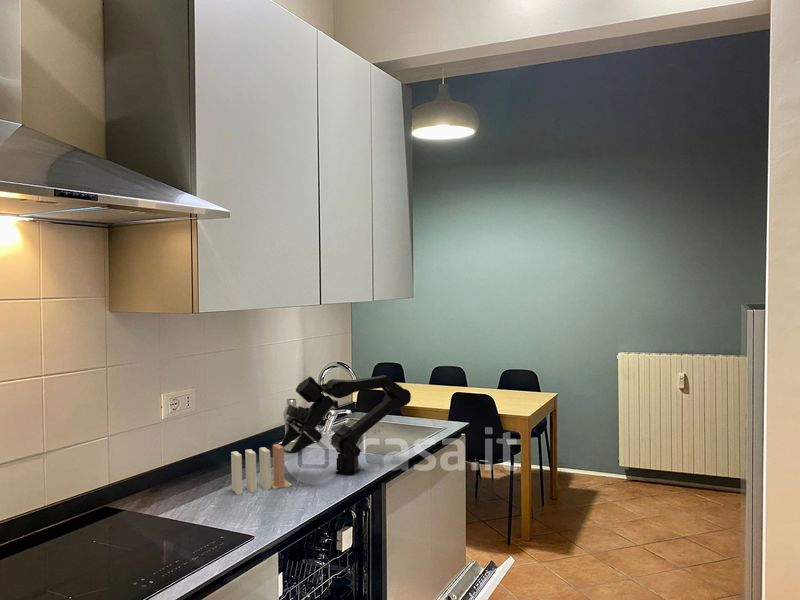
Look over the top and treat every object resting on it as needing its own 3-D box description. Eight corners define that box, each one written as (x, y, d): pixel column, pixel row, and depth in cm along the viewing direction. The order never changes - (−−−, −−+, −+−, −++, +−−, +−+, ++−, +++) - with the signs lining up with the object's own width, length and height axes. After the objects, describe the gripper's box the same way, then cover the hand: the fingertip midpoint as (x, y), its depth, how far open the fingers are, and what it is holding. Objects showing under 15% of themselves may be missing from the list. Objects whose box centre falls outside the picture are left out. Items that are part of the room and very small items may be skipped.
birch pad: (283, 479, 209) (283, 478, 209) (292, 486, 202) (292, 484, 202) (266, 482, 206) (266, 481, 206) (273, 489, 199) (273, 488, 199)
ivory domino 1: (237, 488, 200) (236, 451, 200) (242, 493, 195) (241, 455, 195) (231, 489, 199) (231, 452, 199) (236, 494, 194) (235, 456, 194)
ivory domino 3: (265, 484, 205) (264, 447, 204) (270, 488, 200) (270, 450, 199) (260, 485, 204) (259, 447, 203) (265, 489, 199) (264, 451, 198)
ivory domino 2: (251, 486, 202) (250, 449, 202) (256, 491, 197) (255, 453, 197) (246, 487, 201) (245, 449, 201) (251, 492, 197) (250, 453, 196)
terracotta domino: (278, 480, 207) (278, 443, 206) (284, 485, 202) (283, 447, 202) (273, 481, 206) (272, 444, 205) (279, 486, 201) (278, 448, 201)
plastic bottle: (280, 452, 242) (279, 400, 241) (289, 448, 248) (288, 397, 248) (295, 454, 240) (294, 401, 239) (304, 449, 246) (303, 398, 245)
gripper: (290, 392, 215) (260, 428, 210) (311, 400, 199) (278, 440, 194) (313, 412, 219) (283, 448, 214) (335, 422, 203) (303, 461, 198)
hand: (286, 449), depth 205 cm, fingers open, 9 cm apart
